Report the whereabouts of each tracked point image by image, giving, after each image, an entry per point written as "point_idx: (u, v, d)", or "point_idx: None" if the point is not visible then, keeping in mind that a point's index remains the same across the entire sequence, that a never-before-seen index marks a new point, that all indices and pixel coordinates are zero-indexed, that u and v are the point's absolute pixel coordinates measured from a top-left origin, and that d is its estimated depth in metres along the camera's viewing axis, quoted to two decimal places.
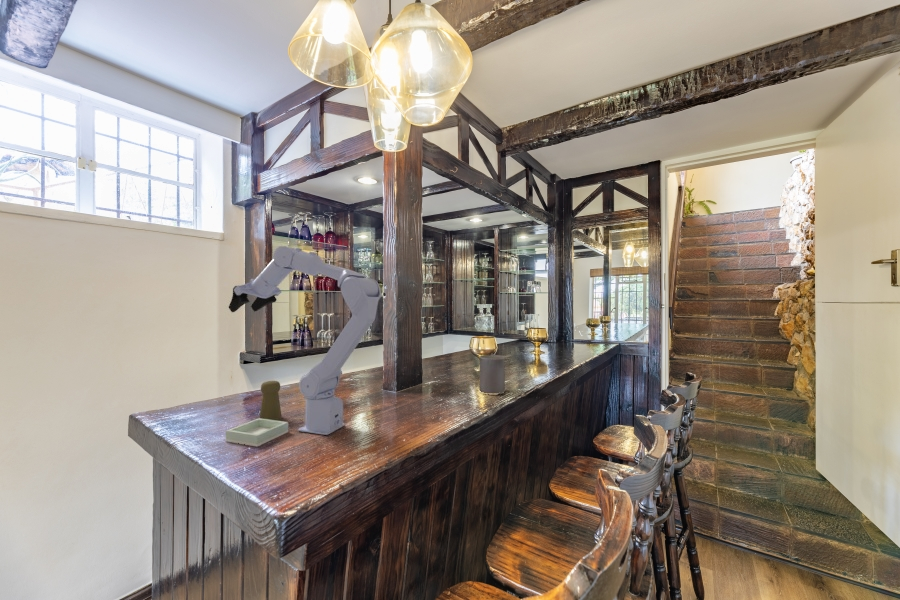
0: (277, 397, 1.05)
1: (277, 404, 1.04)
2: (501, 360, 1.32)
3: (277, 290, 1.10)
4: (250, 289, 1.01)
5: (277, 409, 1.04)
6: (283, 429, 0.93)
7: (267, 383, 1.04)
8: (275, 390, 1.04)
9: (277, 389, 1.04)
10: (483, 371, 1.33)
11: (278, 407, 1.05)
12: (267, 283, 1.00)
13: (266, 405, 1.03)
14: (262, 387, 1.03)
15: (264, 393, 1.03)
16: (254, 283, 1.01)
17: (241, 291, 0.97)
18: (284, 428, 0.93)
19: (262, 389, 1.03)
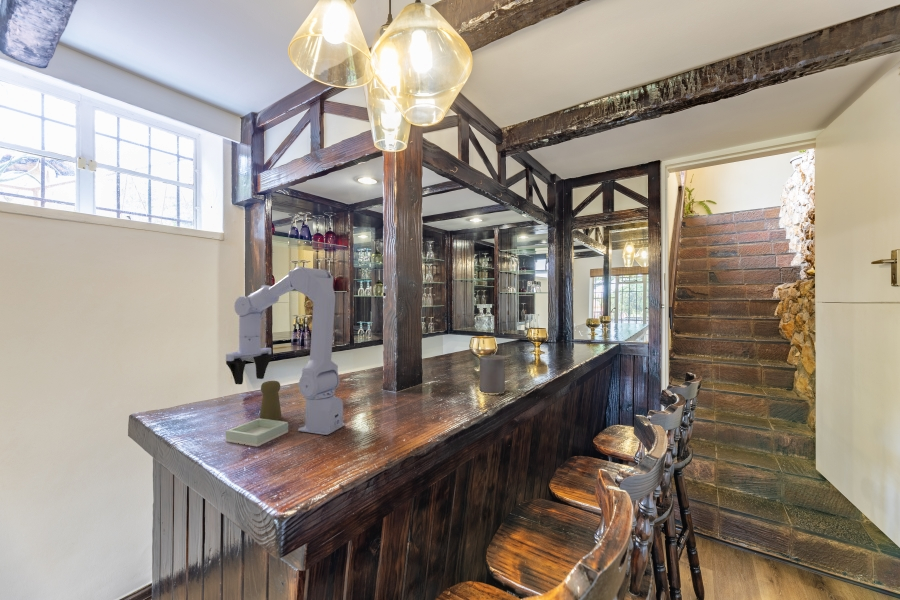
0: (277, 397, 1.05)
1: (277, 404, 1.04)
2: (501, 360, 1.32)
3: (267, 349, 1.14)
4: (240, 353, 1.04)
5: (277, 409, 1.04)
6: (283, 429, 0.93)
7: (267, 383, 1.04)
8: (275, 390, 1.04)
9: (277, 389, 1.04)
10: (483, 371, 1.33)
11: (278, 407, 1.05)
12: (249, 337, 1.05)
13: (266, 405, 1.03)
14: (262, 387, 1.03)
15: (264, 393, 1.03)
16: (240, 347, 1.05)
17: (232, 355, 1.01)
18: (284, 428, 0.93)
19: (262, 389, 1.03)
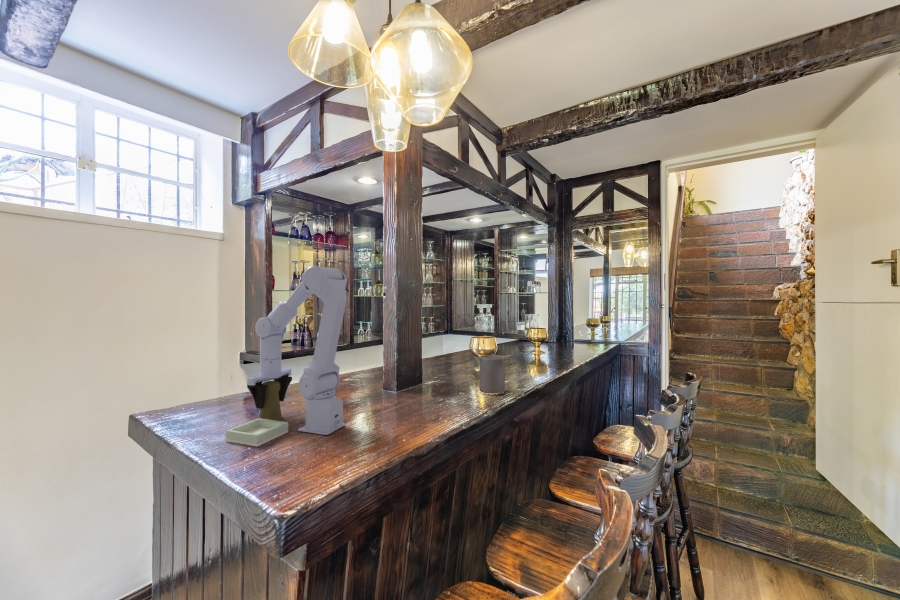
0: (277, 397, 1.05)
1: (277, 404, 1.04)
2: (501, 360, 1.32)
3: (287, 370, 1.11)
4: (261, 376, 1.02)
5: (277, 409, 1.04)
6: (283, 429, 0.93)
7: (267, 383, 1.04)
8: (275, 390, 1.04)
9: (277, 389, 1.04)
10: (483, 371, 1.33)
11: (278, 407, 1.05)
12: (270, 360, 1.03)
13: (266, 405, 1.03)
14: None
15: None
16: (261, 370, 1.03)
17: (253, 379, 0.98)
18: (284, 428, 0.93)
19: None
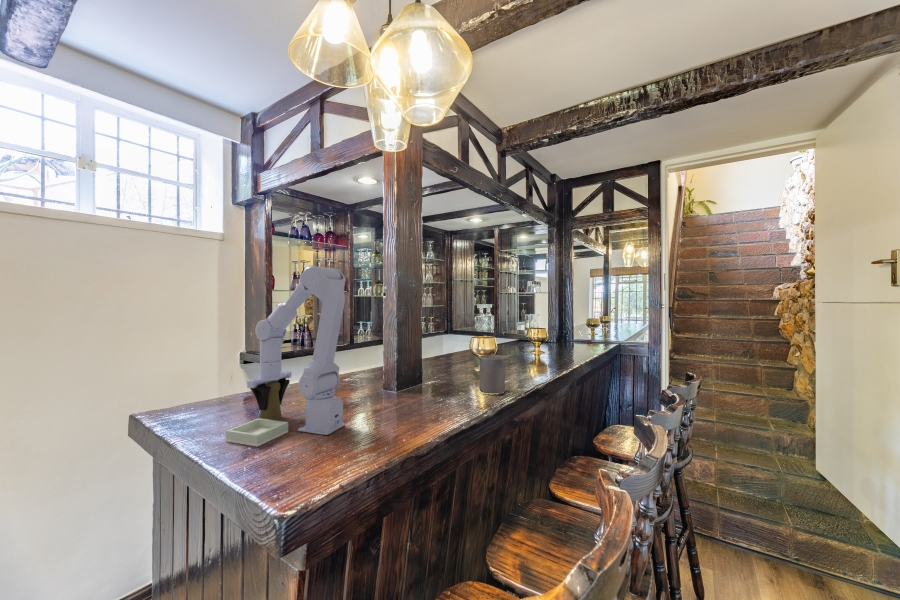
0: (277, 397, 1.05)
1: (277, 404, 1.04)
2: (501, 360, 1.32)
3: (287, 372, 1.11)
4: None
5: (277, 409, 1.04)
6: (283, 429, 0.93)
7: (267, 383, 1.04)
8: (275, 390, 1.04)
9: (277, 389, 1.04)
10: (483, 371, 1.33)
11: (278, 407, 1.05)
12: (270, 362, 1.03)
13: None
14: None
15: None
16: (261, 372, 1.03)
17: (253, 382, 0.98)
18: (284, 428, 0.93)
19: None
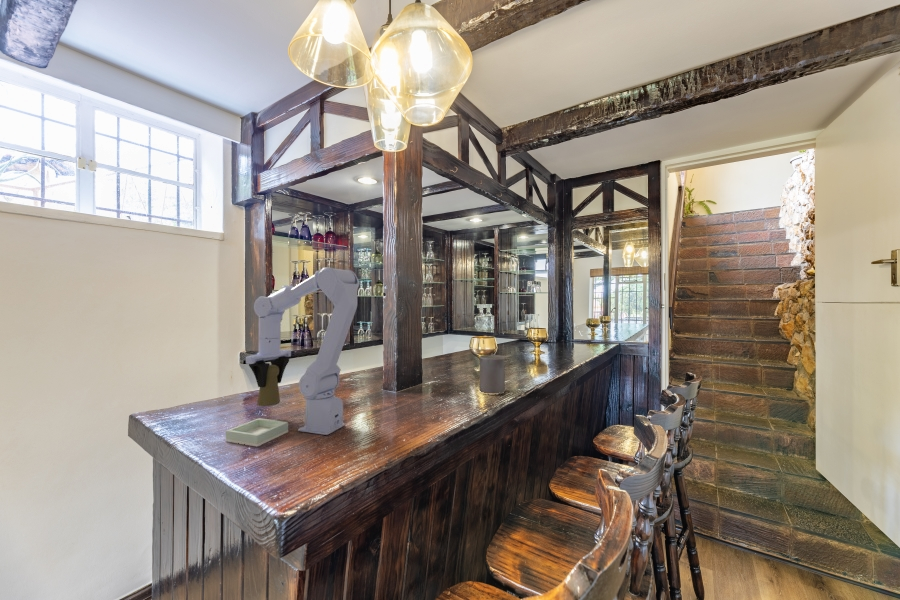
0: (276, 381, 1.04)
1: (275, 389, 1.03)
2: (501, 360, 1.32)
3: (286, 351, 1.10)
4: (260, 355, 1.00)
5: (276, 394, 1.03)
6: (283, 429, 0.93)
7: None
8: (274, 374, 1.02)
9: (276, 373, 1.03)
10: (483, 371, 1.33)
11: (276, 392, 1.04)
12: (269, 339, 1.01)
13: (264, 389, 1.01)
14: None
15: None
16: (260, 349, 1.01)
17: (252, 357, 0.97)
18: (284, 428, 0.93)
19: None
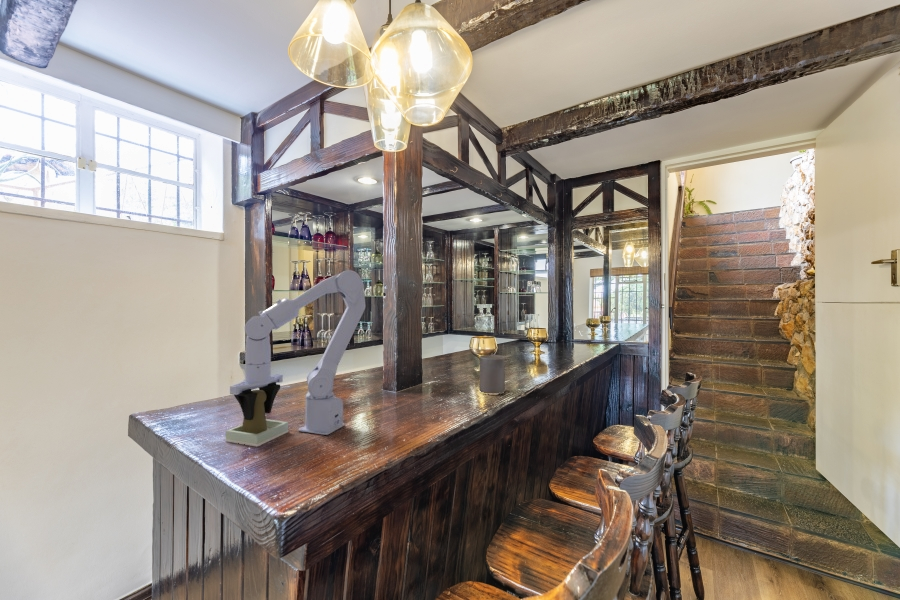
0: (261, 409, 0.91)
1: (261, 417, 0.90)
2: (501, 360, 1.32)
3: (277, 376, 0.97)
4: (246, 384, 0.88)
5: (261, 424, 0.90)
6: (283, 429, 0.93)
7: None
8: (258, 401, 0.90)
9: (261, 400, 0.90)
10: (483, 371, 1.33)
11: (262, 421, 0.91)
12: (257, 364, 0.89)
13: None
14: None
15: None
16: (246, 376, 0.89)
17: (237, 387, 0.84)
18: (284, 428, 0.93)
19: None
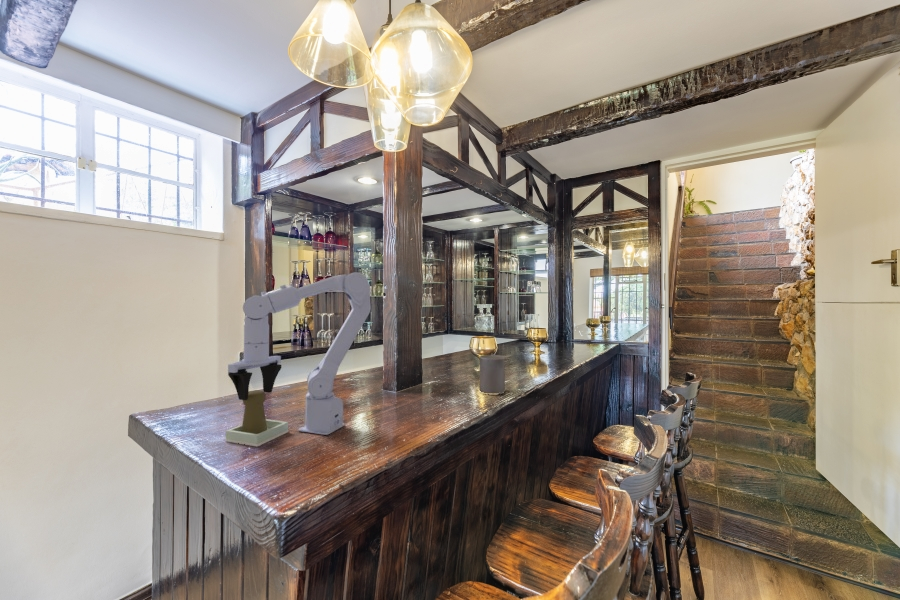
0: (261, 410, 0.91)
1: (260, 418, 0.90)
2: (501, 360, 1.32)
3: (275, 357, 0.97)
4: (245, 363, 0.88)
5: (261, 424, 0.90)
6: (283, 429, 0.93)
7: (249, 393, 0.90)
8: (258, 402, 0.90)
9: (260, 401, 0.90)
10: (483, 371, 1.33)
11: (262, 421, 0.91)
12: (255, 344, 0.89)
13: (247, 419, 0.89)
14: None
15: (246, 405, 0.89)
16: (245, 356, 0.89)
17: (235, 365, 0.85)
18: (284, 428, 0.93)
19: (243, 400, 0.89)
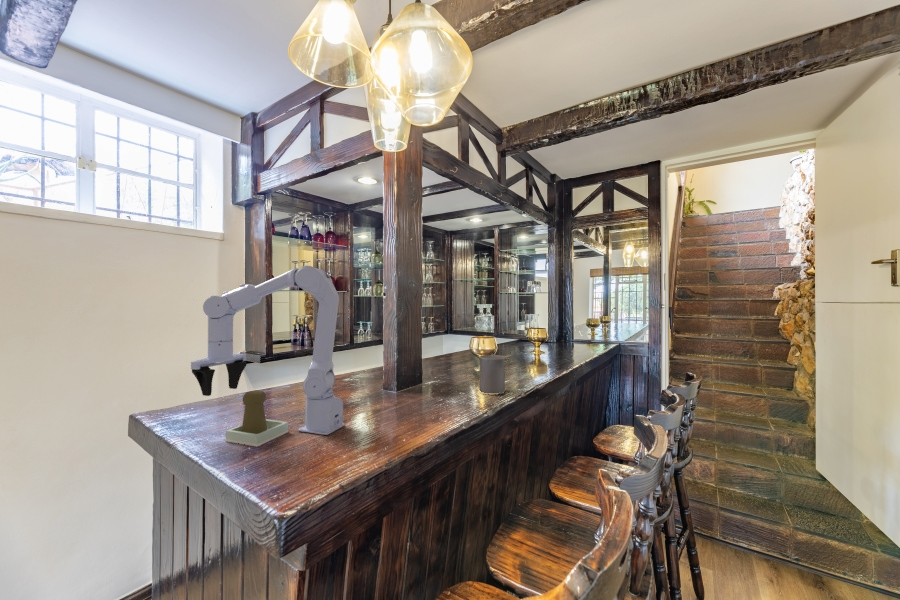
0: (261, 410, 0.91)
1: (260, 418, 0.90)
2: (501, 360, 1.32)
3: (241, 354, 1.01)
4: (208, 360, 0.92)
5: (261, 424, 0.90)
6: (283, 429, 0.93)
7: (249, 393, 0.90)
8: (258, 402, 0.90)
9: (260, 401, 0.90)
10: (483, 371, 1.33)
11: (262, 421, 0.91)
12: (218, 342, 0.93)
13: (247, 419, 0.89)
14: (243, 398, 0.89)
15: (246, 405, 0.89)
16: (208, 353, 0.93)
17: (197, 363, 0.89)
18: (284, 428, 0.93)
19: (243, 400, 0.89)
